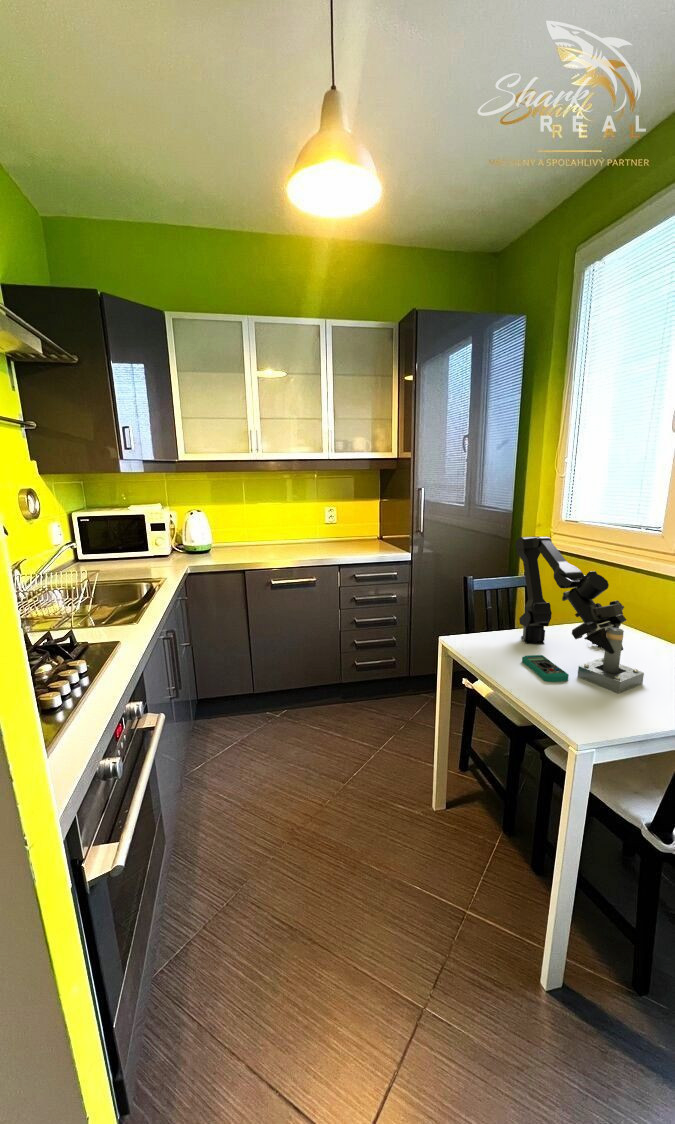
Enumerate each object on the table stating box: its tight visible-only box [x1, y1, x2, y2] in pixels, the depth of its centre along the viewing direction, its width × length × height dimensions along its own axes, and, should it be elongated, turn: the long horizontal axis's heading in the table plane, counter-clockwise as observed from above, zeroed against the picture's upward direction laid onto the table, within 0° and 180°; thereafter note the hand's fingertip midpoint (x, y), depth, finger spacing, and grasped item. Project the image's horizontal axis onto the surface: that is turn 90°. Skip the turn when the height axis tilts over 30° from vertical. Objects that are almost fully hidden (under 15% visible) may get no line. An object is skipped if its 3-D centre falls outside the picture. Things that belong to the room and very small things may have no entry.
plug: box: [602, 627, 625, 674], centre depth 124 cm, size 4×4×13 cm
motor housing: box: [577, 657, 645, 694], centre depth 125 cm, size 12×12×4 cm
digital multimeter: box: [521, 654, 569, 683], centre depth 132 cm, size 7×15×3 cm, turn 4°
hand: (617, 651), depth 123 cm, fingers closed on plug, 4 cm apart
